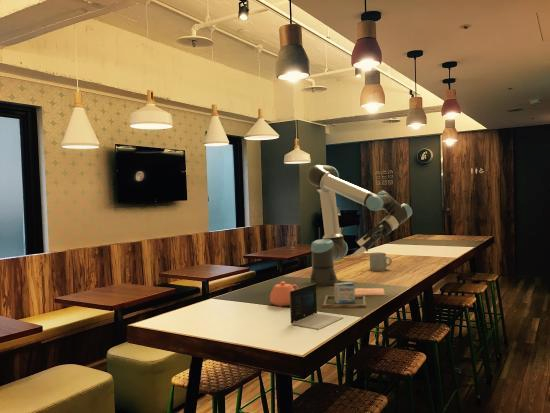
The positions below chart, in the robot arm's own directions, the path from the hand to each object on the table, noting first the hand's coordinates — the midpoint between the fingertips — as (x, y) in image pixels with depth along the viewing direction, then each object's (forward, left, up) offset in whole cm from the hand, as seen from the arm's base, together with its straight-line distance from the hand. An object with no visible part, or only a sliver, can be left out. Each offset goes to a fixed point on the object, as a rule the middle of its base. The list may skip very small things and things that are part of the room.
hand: (356, 250), depth 227 cm
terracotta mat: (+5, -4, -20) cm, 21 cm away
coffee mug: (+13, +62, -20) cm, 66 cm away
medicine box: (-6, -25, -20) cm, 33 cm away
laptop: (-15, -56, -21) cm, 62 cm away
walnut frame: (-6, -25, -20) cm, 33 cm away
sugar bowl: (-32, -29, -20) cm, 48 cm away
